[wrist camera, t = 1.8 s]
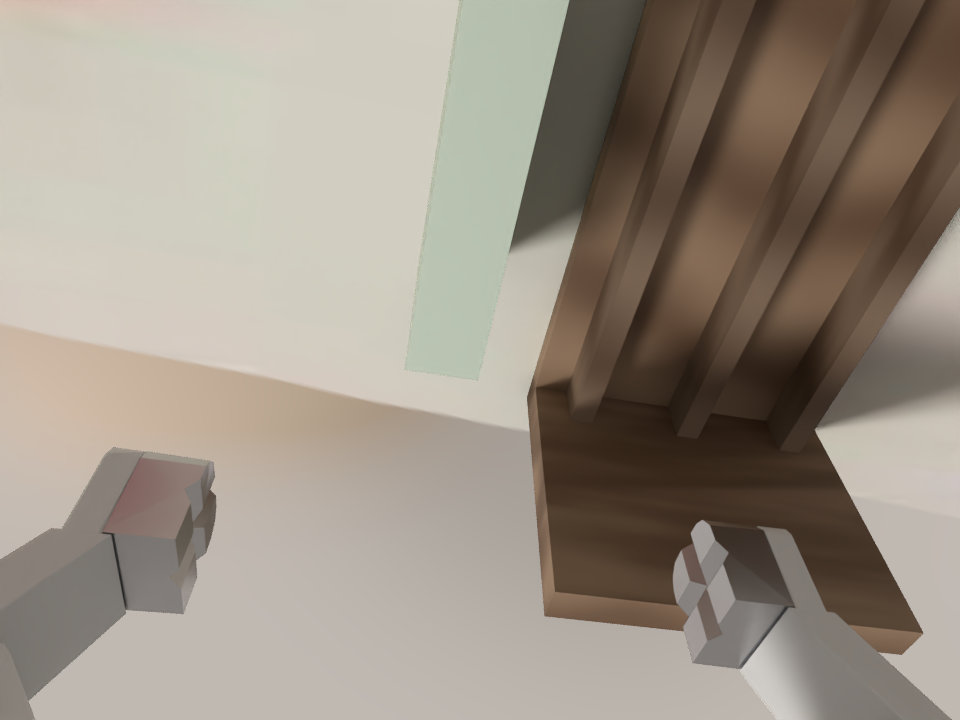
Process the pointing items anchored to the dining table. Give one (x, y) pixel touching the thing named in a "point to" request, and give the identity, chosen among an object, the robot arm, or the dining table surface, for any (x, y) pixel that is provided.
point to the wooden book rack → (739, 294)
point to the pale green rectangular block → (479, 176)
